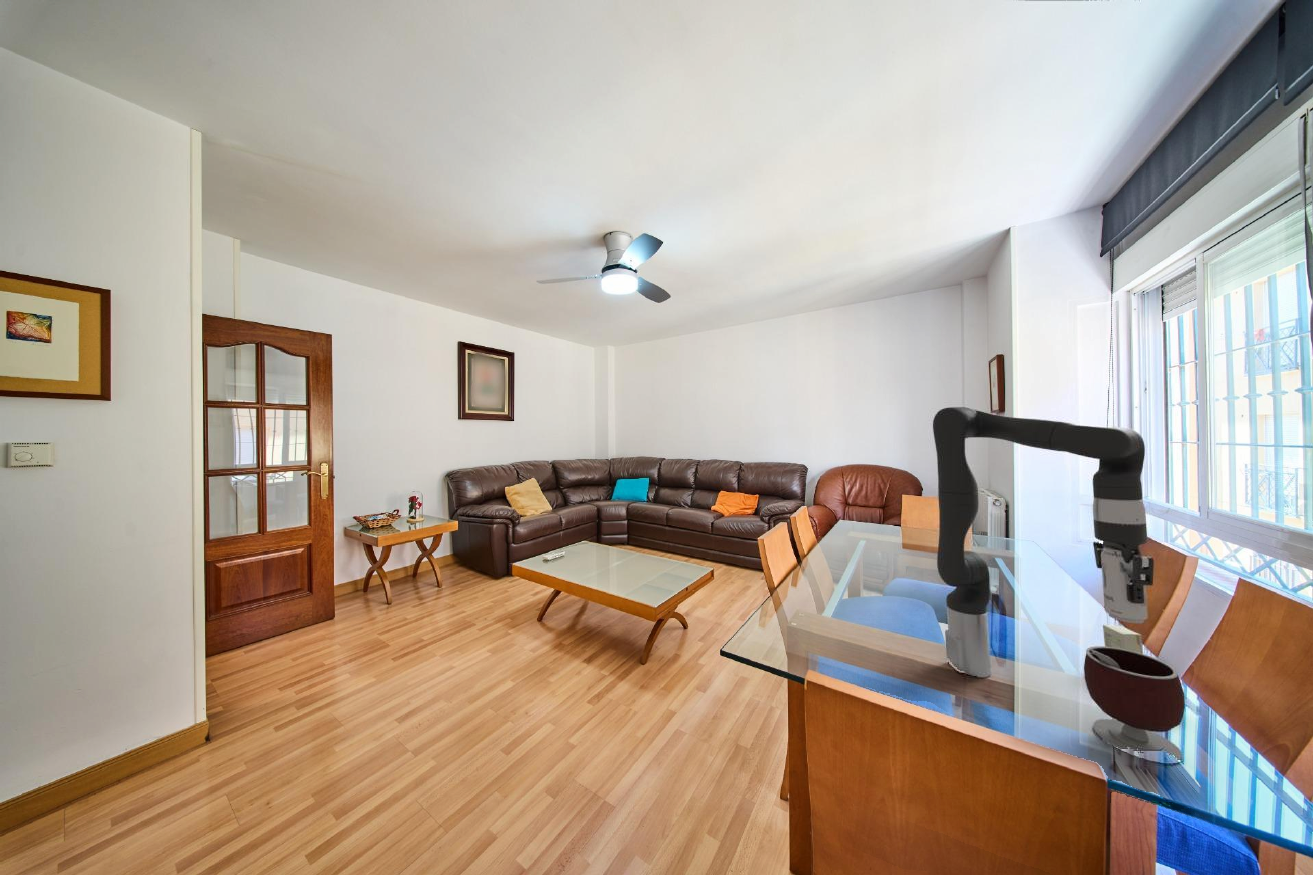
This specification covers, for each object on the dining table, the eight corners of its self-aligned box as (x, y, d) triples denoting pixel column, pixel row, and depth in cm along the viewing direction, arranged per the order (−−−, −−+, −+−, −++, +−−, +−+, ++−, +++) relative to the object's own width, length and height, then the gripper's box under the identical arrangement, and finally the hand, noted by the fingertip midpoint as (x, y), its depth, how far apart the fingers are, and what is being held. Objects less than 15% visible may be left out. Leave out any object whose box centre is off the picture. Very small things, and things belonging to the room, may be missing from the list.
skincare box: (1146, 682, 105) (1143, 635, 106) (1126, 681, 106) (1123, 634, 107) (1123, 668, 112) (1120, 624, 112) (1105, 667, 113) (1101, 623, 113)
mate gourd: (1127, 717, 93) (1120, 630, 93) (1212, 764, 79) (1204, 662, 80) (1063, 722, 92) (1057, 634, 93) (1137, 770, 79) (1129, 667, 79)
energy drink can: (1104, 610, 91) (1099, 543, 91) (1145, 617, 86) (1140, 547, 87) (1106, 618, 86) (1101, 549, 87) (1150, 627, 82) (1144, 553, 82)
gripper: (1170, 526, 79) (1176, 612, 78) (1118, 513, 92) (1123, 586, 92) (1119, 525, 81) (1124, 608, 81) (1075, 513, 95) (1080, 584, 95)
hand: (1124, 596), depth 86 cm, fingers closed on energy drink can, 6 cm apart
